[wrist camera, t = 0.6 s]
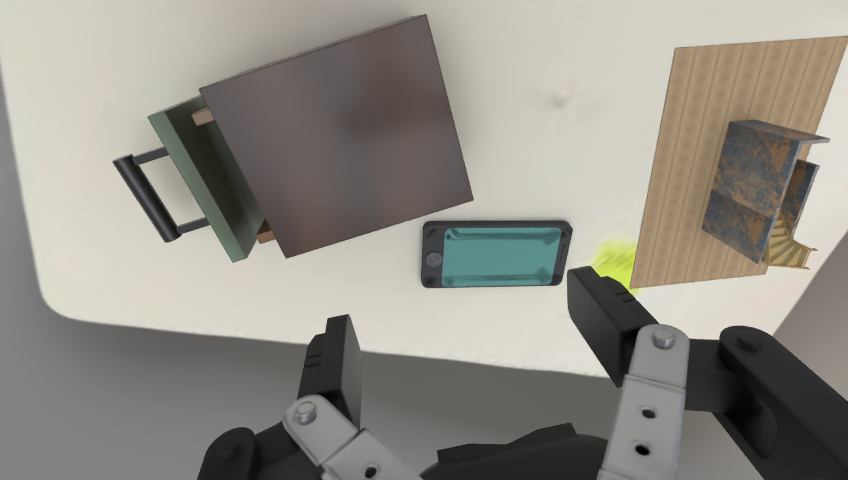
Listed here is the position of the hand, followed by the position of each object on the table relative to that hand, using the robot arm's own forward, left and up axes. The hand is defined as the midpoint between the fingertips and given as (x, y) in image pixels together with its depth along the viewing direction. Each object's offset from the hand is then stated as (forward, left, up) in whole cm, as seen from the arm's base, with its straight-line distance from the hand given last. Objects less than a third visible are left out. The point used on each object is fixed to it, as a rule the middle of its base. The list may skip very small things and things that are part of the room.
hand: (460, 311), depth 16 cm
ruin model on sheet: (+14, +30, -26) cm, 42 cm away
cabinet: (-3, -4, -26) cm, 26 cm away
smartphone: (+14, +5, -26) cm, 30 cm away
